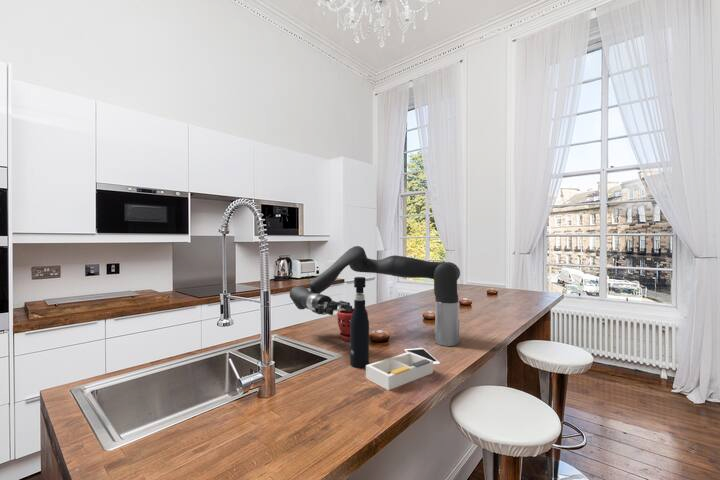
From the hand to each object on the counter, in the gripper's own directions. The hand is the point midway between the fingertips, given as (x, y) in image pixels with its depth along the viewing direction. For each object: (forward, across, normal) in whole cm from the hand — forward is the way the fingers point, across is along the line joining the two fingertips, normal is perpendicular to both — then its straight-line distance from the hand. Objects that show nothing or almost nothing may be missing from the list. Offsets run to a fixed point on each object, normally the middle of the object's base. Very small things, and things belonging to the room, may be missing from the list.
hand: (342, 310), depth 122 cm
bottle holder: (+25, -5, -17) cm, 30 cm away
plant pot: (-15, -16, -17) cm, 28 cm away
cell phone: (+18, -23, -18) cm, 34 cm away
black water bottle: (+10, 0, -17) cm, 20 cm away
